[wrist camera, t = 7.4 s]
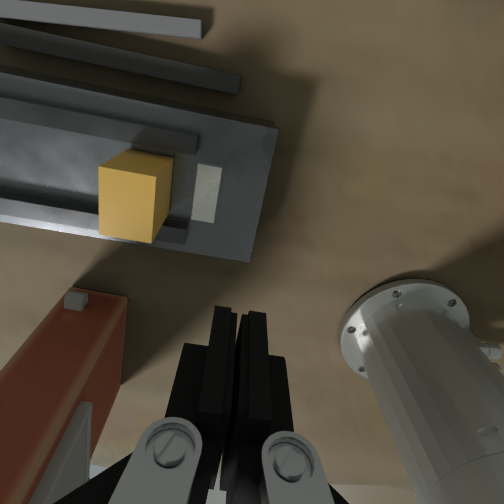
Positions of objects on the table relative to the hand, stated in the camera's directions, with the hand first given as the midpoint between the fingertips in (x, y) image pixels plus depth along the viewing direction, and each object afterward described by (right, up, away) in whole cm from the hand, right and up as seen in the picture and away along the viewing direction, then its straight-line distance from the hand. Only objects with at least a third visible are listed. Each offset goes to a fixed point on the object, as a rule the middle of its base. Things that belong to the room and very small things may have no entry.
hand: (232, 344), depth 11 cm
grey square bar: (-10, +18, +11) cm, 24 cm away
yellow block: (-6, +8, +12) cm, 16 cm away
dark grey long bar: (-8, +16, +12) cm, 22 cm away
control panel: (-15, -6, +24) cm, 29 cm away
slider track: (-10, +10, +16) cm, 21 cm away
